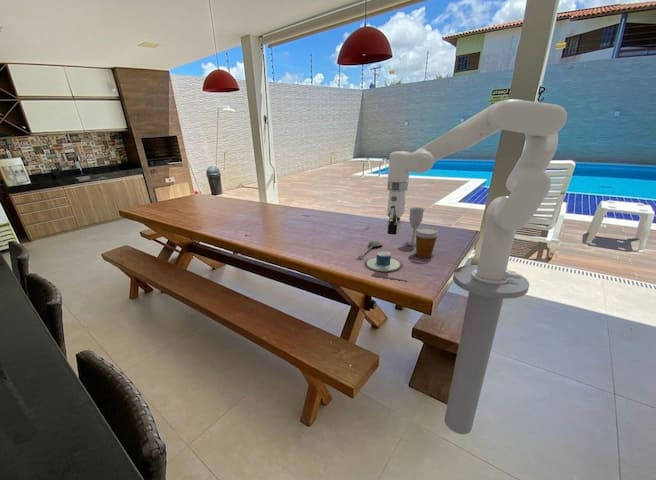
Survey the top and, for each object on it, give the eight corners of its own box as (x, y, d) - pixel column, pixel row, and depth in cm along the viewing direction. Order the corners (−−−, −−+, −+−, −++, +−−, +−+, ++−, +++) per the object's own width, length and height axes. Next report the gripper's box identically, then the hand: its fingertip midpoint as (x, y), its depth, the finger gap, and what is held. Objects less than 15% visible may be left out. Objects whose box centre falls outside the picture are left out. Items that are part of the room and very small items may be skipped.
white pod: (401, 231, 124) (402, 221, 123) (398, 235, 120) (399, 224, 119) (388, 230, 127) (389, 219, 125) (385, 233, 123) (386, 223, 121)
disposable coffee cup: (426, 261, 134) (430, 235, 128) (408, 254, 141) (411, 230, 136) (439, 256, 138) (443, 230, 133) (421, 249, 145) (424, 225, 140)
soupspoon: (384, 246, 154) (371, 244, 157) (384, 240, 152) (372, 238, 156) (365, 260, 137) (352, 258, 141) (366, 253, 136) (352, 251, 140)
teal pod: (391, 261, 133) (392, 252, 131) (388, 266, 129) (389, 256, 127) (378, 259, 136) (378, 250, 134) (374, 264, 131) (375, 255, 129)
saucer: (403, 261, 135) (403, 259, 134) (396, 273, 124) (396, 271, 123) (371, 257, 141) (371, 255, 141) (362, 268, 130) (362, 266, 130)
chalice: (403, 242, 156) (407, 207, 149) (417, 241, 156) (421, 207, 148) (407, 247, 150) (412, 211, 142) (421, 247, 150) (426, 211, 142)
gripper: (403, 190, 108) (398, 239, 115) (411, 183, 121) (407, 227, 129) (381, 189, 111) (378, 237, 118) (392, 182, 125) (388, 225, 132)
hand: (393, 231), depth 123 cm, fingers closed on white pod, 5 cm apart
